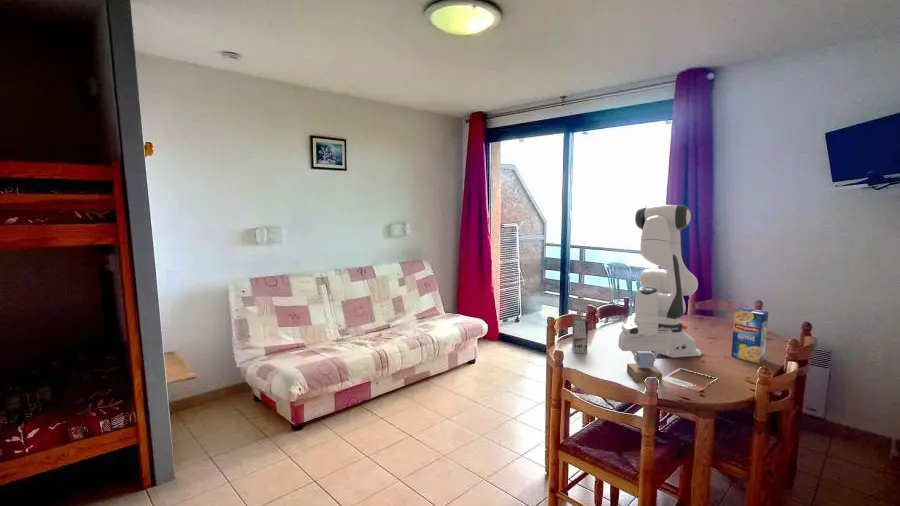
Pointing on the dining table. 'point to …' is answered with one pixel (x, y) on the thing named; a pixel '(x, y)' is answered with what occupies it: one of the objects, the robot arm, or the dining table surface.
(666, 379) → the photo frame
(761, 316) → the beverage box
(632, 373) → the walnut block
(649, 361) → the blue cube
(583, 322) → the coffee box
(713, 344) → the dining table surface
